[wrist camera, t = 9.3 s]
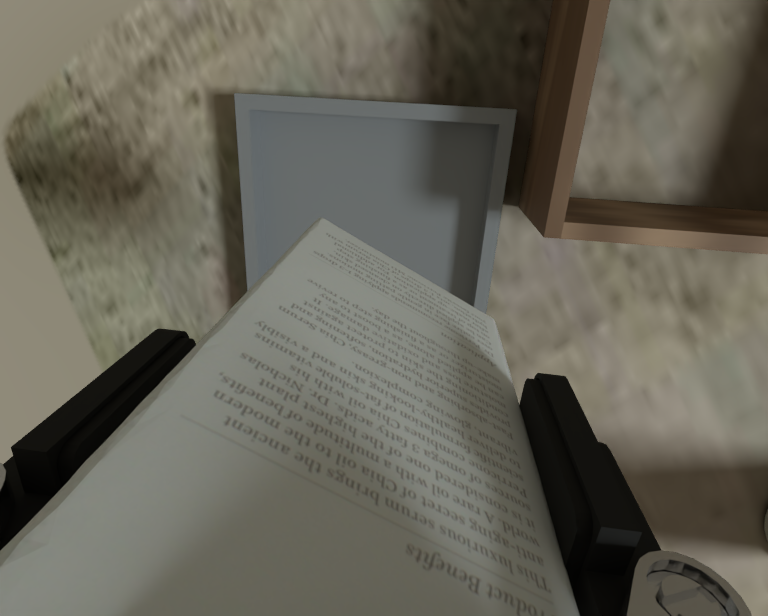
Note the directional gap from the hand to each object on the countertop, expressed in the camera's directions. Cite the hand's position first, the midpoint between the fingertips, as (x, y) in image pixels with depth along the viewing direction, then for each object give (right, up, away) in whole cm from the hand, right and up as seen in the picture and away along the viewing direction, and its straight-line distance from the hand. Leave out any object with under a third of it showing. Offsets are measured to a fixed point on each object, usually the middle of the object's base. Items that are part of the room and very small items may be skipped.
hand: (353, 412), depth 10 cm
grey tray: (0, +7, +21) cm, 22 cm away
